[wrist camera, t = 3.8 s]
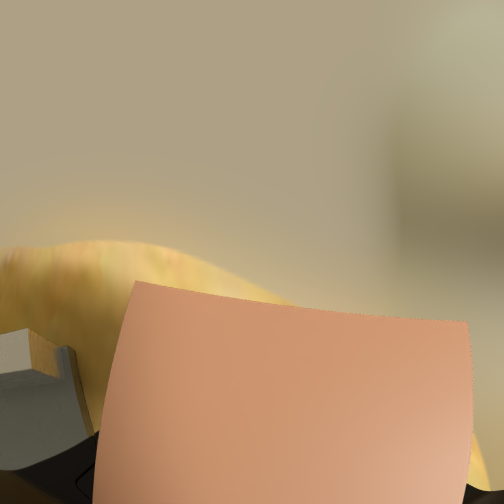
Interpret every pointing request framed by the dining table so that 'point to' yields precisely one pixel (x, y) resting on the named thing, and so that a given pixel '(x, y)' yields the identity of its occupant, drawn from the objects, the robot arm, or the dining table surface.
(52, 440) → the bench vise
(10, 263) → the dining table surface
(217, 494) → the terracotta block
